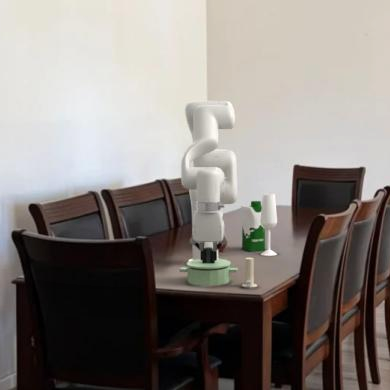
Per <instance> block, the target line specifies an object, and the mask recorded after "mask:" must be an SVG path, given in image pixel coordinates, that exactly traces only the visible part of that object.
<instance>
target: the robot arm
mask: <svg viewBox="0 0 390 390" xmlns="http://www.w3.org/2000/svg"><path fill="white" fill-rule="evenodd" d="M184 115H185V121H186V125H187V127H188V129H189V132H190V135H191V139H192V144H190V146H188V148H187V149H186V150H185V151H184V153H183V155H182V157H181V162H180V180H181V186H182V187H183V188H184V189H185V190H188V191H189V198H190V204H191V205H190V206H191V237H190V238H189V241H188V243H189V244H191V245H192V249H191V250H192V254H191V255H192V258H190V259H188V260H187V262H189V261H192V260H198V259H201V260H202V263H205V248H206V247H212V263H215V260H217V259H221V258H219V251H218V249H219V248H220V247H221V246H223V245H225V244H227V245H228V243H229V241H228V239H227V236H226V234H225V233H226V232H225V231H226V230H225V229H226V228H225V219H224V212H223V210H221V209H225V205H232V204H235V203H236V202H237V199H238V193H239V191H238V164H237V163H238V161H237V156H236V153H235V151H233V150H230V149H217V148H218V147H219V143H220V142H219V130H232V129H233V128H234V127H235V123H236V113H235V109H234V106H233V104H232V103H231V102H230V101H226V100H194V101H190V102H189V101H188V103H187V104H186V105H185V107H184ZM191 163H192V166H190V164H191ZM222 240H223V241H222ZM220 241H222V242H220ZM218 242H220V243H218Z"/></svg>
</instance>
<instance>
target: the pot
mask: <svg viewBox="0 0 390 390" xmlns="http://www.w3.org/2000/svg"><path fill="white" fill-rule="evenodd" d="M230 266H231V265H230ZM230 266H227V267H223V268H220V269H210V270H204V269H195V268H191V267H188V266H187V267H180V268H179V273H187V283H188V284H190V285H193V286H202V287H211V286H212V287H213V286H214V287H215V286H221V285H225V284H229V282H230V280H231V279H230V274H231V273H238V271H239V270H238V269H239V268H238V267H230Z"/></svg>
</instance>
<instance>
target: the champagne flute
mask: <svg viewBox="0 0 390 390" xmlns="http://www.w3.org/2000/svg"><path fill="white" fill-rule="evenodd" d="M261 199H262V200H261V205H262V209H261V220H260V223H261V224H262V226H263V227H264V228H265V230H267V231H266V235H267V236H266V239H267V240H266V243H267V244H266V247H267V248H266V249H265V250H263V252H261V253H260V256H266V257H271V256H272V257H273V256H277V255H278V253H276V252H275V251H273V250H272V249H271V230H272V229H274V228H275V227H276V226H277V224H278V214H277V212H278V211H277V203H276V202H277V201H276V193H273V192H271V193H270V192H268V193H267V192H266V193H262V198H261Z"/></svg>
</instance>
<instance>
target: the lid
mask: <svg viewBox="0 0 390 390" xmlns="http://www.w3.org/2000/svg"><path fill="white" fill-rule="evenodd" d="M231 264H232V262H231V261H230V260H227V259H222V258H220V259H217V260H215V263H212V247H206V248H205V263H202V260H201V259H198V260H192V261H189V262H188V261H187V262H186V267H187V268H188V267H191V268H195V269H204V270H210V269H220V268H223V267H227V266H231Z"/></svg>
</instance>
